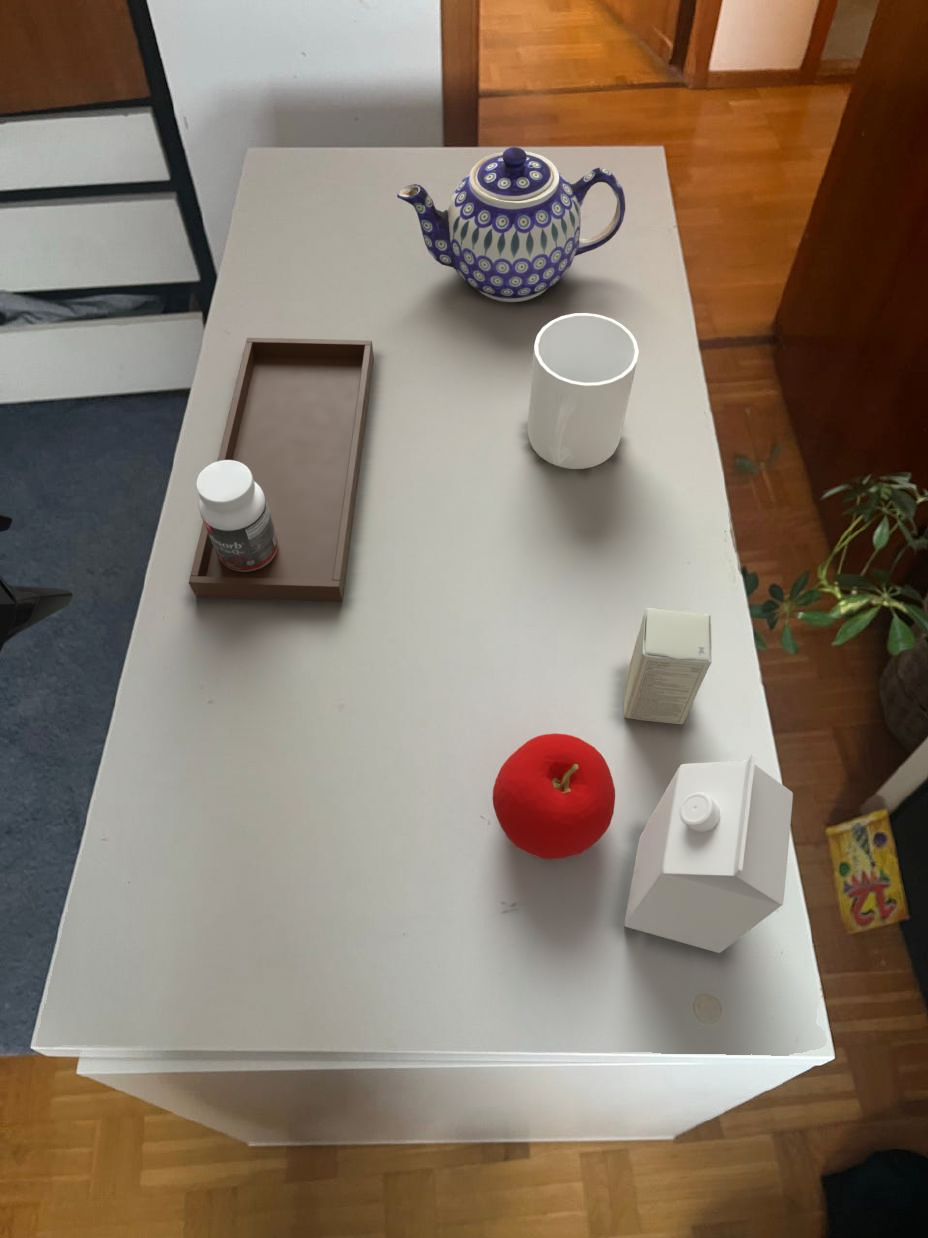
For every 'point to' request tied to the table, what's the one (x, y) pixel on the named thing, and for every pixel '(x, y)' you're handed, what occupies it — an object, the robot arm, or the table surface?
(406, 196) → the teapot
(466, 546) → the table surface
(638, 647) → the box
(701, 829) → the milk carton
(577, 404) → the mug
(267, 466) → the tray
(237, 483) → the pill bottle
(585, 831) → the fruit
